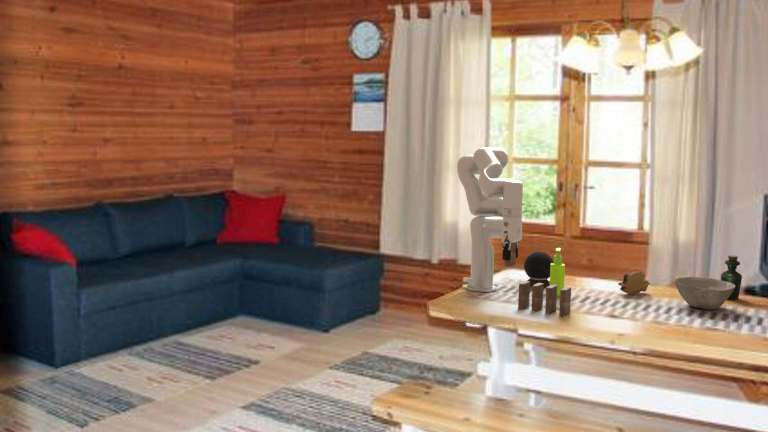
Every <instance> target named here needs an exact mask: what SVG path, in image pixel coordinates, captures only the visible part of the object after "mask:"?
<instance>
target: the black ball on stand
mask: <svg viewBox="0 0 768 432" xmlns="http://www.w3.org/2000/svg"><path fill="white" fill-rule="evenodd" d="M551 263H554V258H553V257H552V256H551V254H548V253H546V252H545V251H541V250H540V251H539V250H537V251H534V252H531V253H530V254H528V255H527V256H526V258H525V260H524V263H523V268H524V272H525V274H526V275H527V276H528V278H529V279H527V280H526V281H530V288H533V285H535V284H537V283H544V287H543V289H544V288H546V287H548V286H550V280H548V279H550V266H551Z"/></svg>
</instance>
